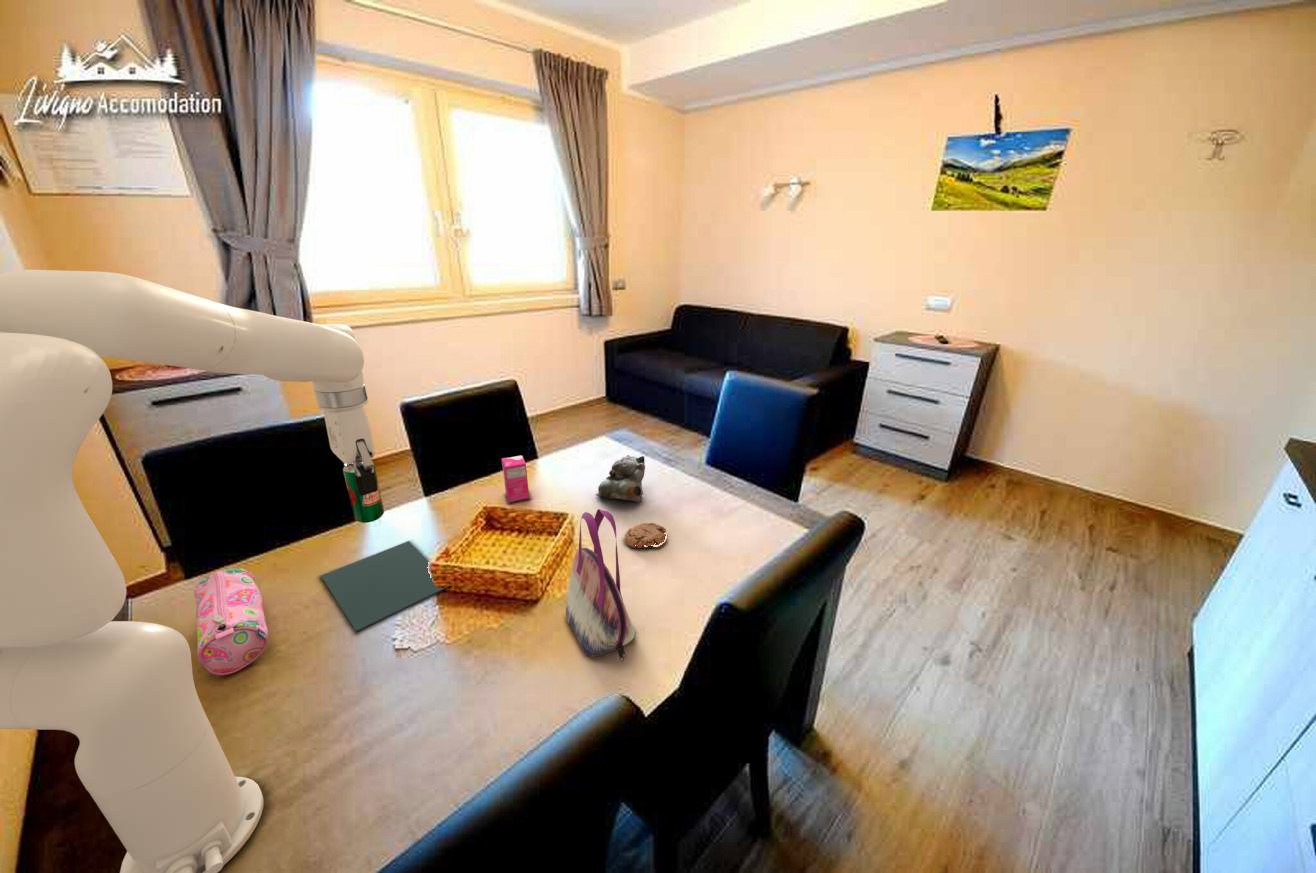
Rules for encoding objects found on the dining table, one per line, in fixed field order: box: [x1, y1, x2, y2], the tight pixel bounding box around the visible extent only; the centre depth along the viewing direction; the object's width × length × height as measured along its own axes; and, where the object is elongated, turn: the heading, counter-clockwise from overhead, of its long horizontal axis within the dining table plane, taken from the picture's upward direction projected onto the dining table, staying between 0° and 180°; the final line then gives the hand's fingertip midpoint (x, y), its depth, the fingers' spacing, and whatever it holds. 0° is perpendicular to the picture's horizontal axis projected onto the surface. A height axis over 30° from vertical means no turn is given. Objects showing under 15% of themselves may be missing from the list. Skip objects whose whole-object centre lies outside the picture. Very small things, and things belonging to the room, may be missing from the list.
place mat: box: [320, 540, 448, 633], centre depth 101 cm, size 22×18×1 cm
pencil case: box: [193, 567, 269, 676], centre depth 85 cm, size 21×9×9 cm, turn 41°
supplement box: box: [501, 455, 531, 504], centre depth 133 cm, size 6×6×12 cm
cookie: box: [624, 522, 669, 549], centre depth 117 cm, size 10×11×3 cm
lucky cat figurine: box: [594, 454, 646, 503], centre depth 136 cm, size 15×12×14 cm
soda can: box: [342, 457, 385, 524], centre depth 92 cm, size 5×5×12 cm
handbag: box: [565, 508, 636, 663], centre depth 86 cm, size 21×10×25 cm, turn 30°
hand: (363, 486), depth 91 cm, fingers closed on soda can, 5 cm apart
